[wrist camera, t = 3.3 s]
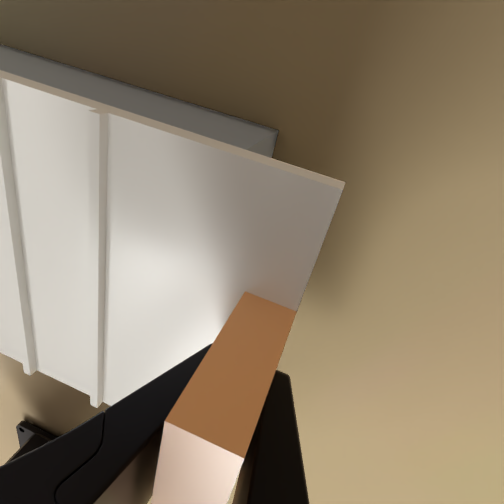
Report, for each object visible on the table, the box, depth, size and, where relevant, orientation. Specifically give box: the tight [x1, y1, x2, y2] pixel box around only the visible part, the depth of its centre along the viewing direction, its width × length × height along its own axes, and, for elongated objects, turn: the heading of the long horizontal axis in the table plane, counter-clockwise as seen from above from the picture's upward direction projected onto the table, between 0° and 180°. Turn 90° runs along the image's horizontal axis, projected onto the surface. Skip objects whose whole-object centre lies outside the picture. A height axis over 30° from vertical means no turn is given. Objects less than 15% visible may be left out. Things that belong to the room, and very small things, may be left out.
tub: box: [0, 44, 279, 158], centre depth 14 cm, size 10×13×4 cm
